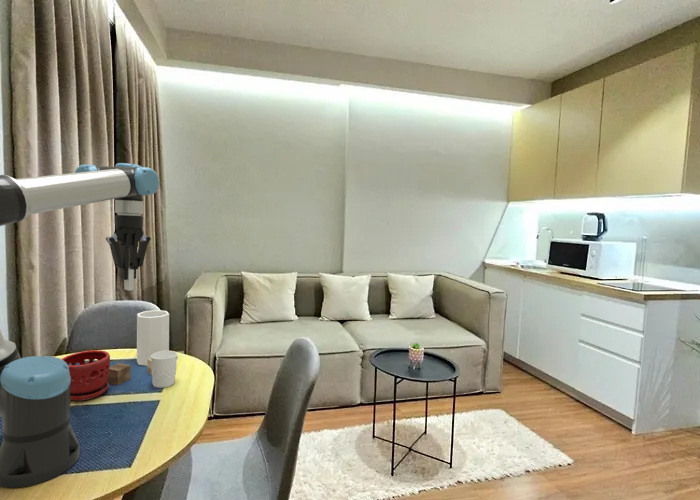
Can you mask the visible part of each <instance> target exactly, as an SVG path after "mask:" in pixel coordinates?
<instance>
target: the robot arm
mask: <svg viewBox="0 0 700 500" xmlns="http://www.w3.org/2000/svg"><path fill="white" fill-rule="evenodd" d="M159 187H160V177H159V176H158V173H157V172H156V171H155V170H154V169H153V168H150V167H143V166H141V165H139V164H136V163H135V164H134V163H125V162H118V163H116V164H115V166H109V165H108V166H107V165H105V166H102V165H100V166H99V165H95V164H81V165H79V166H77V168H76V169H75V171H74V172H71V173H61V174H60V173H59V174H49V175H42V176H41V175H40V176H32V177H31V176H30V177H23V178H22V177H21V178H14V177H12V176H10V175H6V174H0V227H2V226H6V225H12V224H15V223H21V222H22V221H25V219H26V218H27V216H31V215H36V214H42V213H46V212H51V211H52V212H53V211H56V210H62V209H68V208H72V207H78V206H83V205H88V204H89V205H90V204H94V203H100V202H105V201H109V200H110V201H111V200H114V202H115V203H114V205H115V207H114V208H115V213H116V215H115V216H114V223H115V224H114V226H115V227H114V228H115V229H114V231H113V234H112V235H111V236H107V237H105V241H106V242H107V243H108V245H109V248H110V253H111V257H112V260H113V264H114V267H115V268H117V269H121V280H123V282H124V283H123V287H124V288H123V289H124V290H125V291H134V289H135V286H134V284H135V279H136V278H137V270H138V269H139V268H141V267H143V265H144V261H145V257H146V252H147V248H148V246H149V245H148V244H149V243H150V241H151V239H152V238H151V236H147V235H146V234H144V230H143V226H144V217H143V215H142V214H144V202H143V201H144V196H152V195H153V194H154V195H155V194H156V193H157V191H158V190H159ZM117 242H119V244H118V243H117ZM119 247H120V248H119ZM70 381H71V377H70V373H69V367H68V365H67V363H66V362H65V361H63V360H62V358H59V357H56V356H51V355H50V356H49V355H44V356H41V355H35V356H34V355H32V356H26V357H21V355H20V353H19V350H18V348H17V345H16V343H15V342H13V341H11V340H7V339H5V338H4V336H3V333H2V331H1V330H0V417H1V418H2V419H1V420H2V442H1V445H0V487H2V488H11V489H13V488H22V487H24V488H25V487H28V486H29V487H30V486H33V485H39V484H40V483H44V482H46V481H50V480H51V479H54V478H56V477H58V476H60V475H61V474H64V473H65V472H66V471H68V470H70V469H71V468H72V467H73V466H74V465H75V464H76V463H77V461H78V460H79V458H80V443H79V440H78V438H77V437H76V435H75V432H74V430H73V427H72V425H71V400H70Z"/></svg>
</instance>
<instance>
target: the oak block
mask: <svg viewBox="0 0 700 500" xmlns="http://www.w3.org/2000/svg"><path fill="white" fill-rule="evenodd" d="M146 369H147V373H148V374H149V375H150V376H152V370H151V358H148V359H147V366H146Z"/></svg>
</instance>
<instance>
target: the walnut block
mask: <svg viewBox="0 0 700 500" xmlns="http://www.w3.org/2000/svg"><path fill="white" fill-rule="evenodd" d="M131 368H132V367H131V365H130V364H125V363H119V362H118V363H116V364H113V365H110V368H109V375H108V378H107V381H106V382H108V383H109V385H111V384H112V385H115V386H119V385H121V384H123V383H126V382H128V381H130V380H131V370H132V369H131Z"/></svg>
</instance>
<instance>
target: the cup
mask: <svg viewBox="0 0 700 500" xmlns="http://www.w3.org/2000/svg"><path fill="white" fill-rule="evenodd" d="M160 351H170V313H169V312H168V311H167V310H162V309H161V310H159V309H154V310H143V311H142V312H138V313H137V314H136V362H137V364H138V365H139V366H146V367H147V359H148V358H151V355H152V354H154V353H156V352H160Z"/></svg>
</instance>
